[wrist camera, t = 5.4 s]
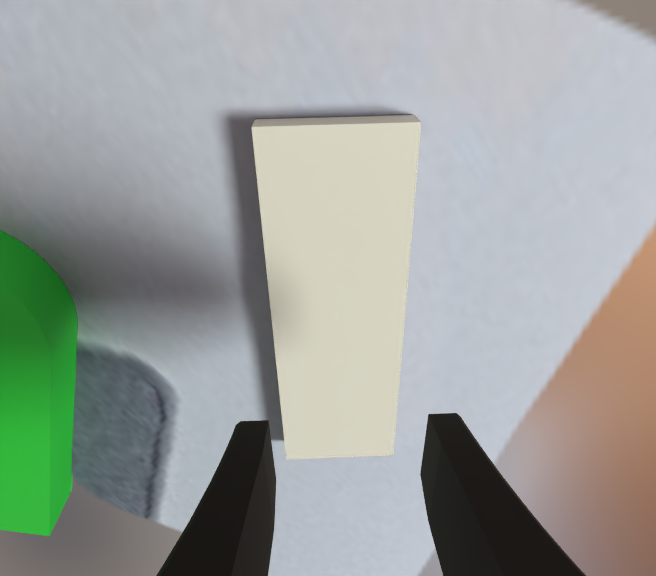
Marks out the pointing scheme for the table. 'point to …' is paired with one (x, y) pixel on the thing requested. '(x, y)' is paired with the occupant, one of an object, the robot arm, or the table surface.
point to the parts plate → (337, 274)
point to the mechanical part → (34, 390)
